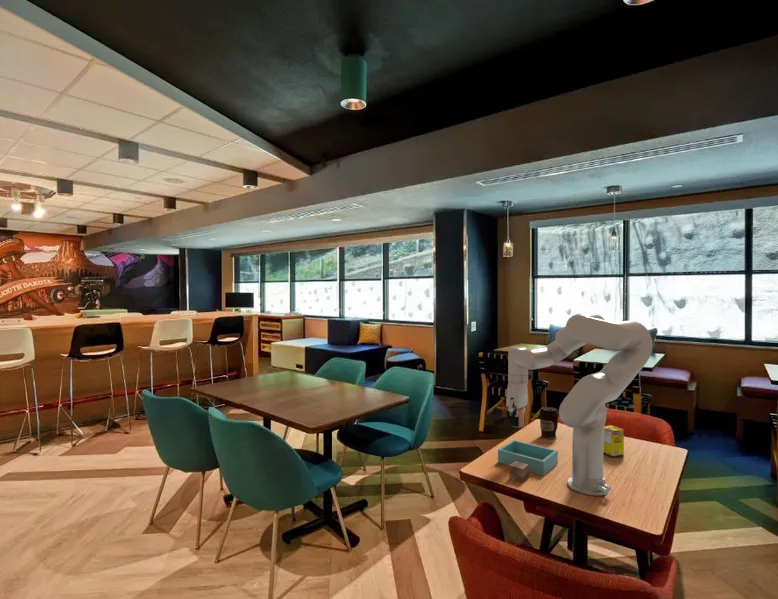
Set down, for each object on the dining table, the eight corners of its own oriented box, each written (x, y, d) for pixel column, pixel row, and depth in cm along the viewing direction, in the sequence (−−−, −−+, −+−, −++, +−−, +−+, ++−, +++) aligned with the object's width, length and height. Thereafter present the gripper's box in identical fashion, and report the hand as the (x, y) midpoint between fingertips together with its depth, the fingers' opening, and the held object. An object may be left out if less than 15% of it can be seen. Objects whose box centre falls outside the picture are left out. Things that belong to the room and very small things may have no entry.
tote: (557, 463, 163) (557, 450, 163) (543, 475, 153) (543, 461, 153) (513, 451, 175) (513, 439, 175) (497, 462, 165) (497, 449, 164)
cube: (528, 478, 151) (528, 464, 151) (522, 483, 147) (522, 469, 147) (515, 474, 154) (515, 460, 154) (509, 479, 150) (509, 465, 150)
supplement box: (624, 456, 170) (624, 429, 170) (612, 458, 168) (612, 431, 168) (611, 450, 176) (612, 424, 175) (600, 452, 174) (600, 426, 174)
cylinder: (526, 426, 165) (527, 409, 164) (515, 428, 163) (515, 410, 163) (519, 423, 169) (519, 405, 169) (508, 424, 168) (508, 406, 168)
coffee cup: (554, 441, 186) (554, 412, 186) (535, 437, 192) (536, 409, 192) (561, 436, 193) (561, 408, 193) (543, 432, 198) (543, 405, 198)
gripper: (518, 373, 175) (517, 417, 175) (499, 380, 162) (498, 427, 162) (536, 376, 170) (535, 421, 170) (517, 383, 157) (517, 432, 157)
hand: (517, 423), depth 166 cm, fingers closed on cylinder, 4 cm apart
